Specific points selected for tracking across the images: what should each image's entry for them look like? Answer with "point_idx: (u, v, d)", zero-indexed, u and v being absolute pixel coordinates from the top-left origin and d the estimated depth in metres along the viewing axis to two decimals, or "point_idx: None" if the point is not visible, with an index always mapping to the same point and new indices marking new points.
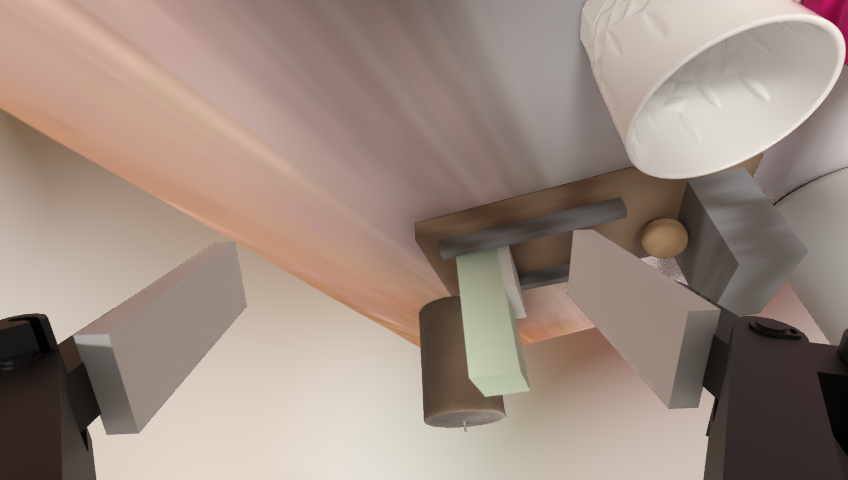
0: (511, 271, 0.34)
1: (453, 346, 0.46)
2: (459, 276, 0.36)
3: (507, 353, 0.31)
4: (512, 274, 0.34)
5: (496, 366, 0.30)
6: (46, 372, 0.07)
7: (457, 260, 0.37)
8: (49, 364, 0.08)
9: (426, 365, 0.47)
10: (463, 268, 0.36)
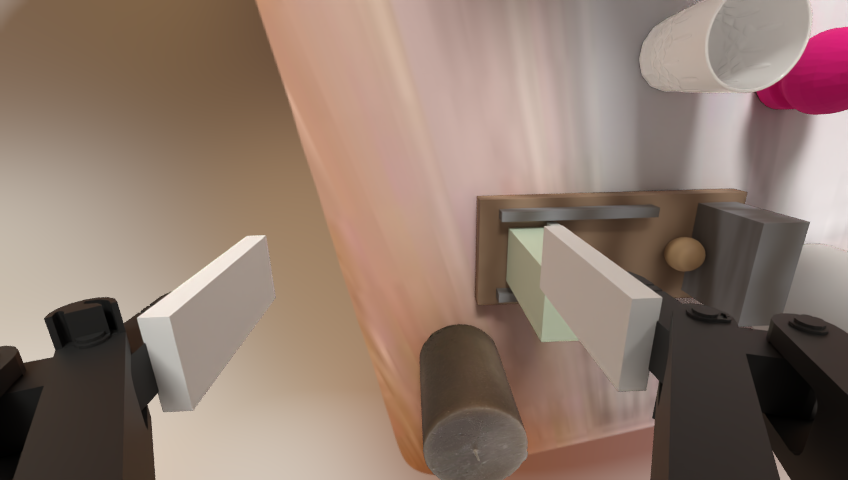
0: None
1: (472, 357, 0.41)
2: (516, 235, 0.38)
3: None
4: None
5: None
6: (114, 352, 0.08)
7: (511, 230, 0.40)
8: (116, 345, 0.08)
9: (436, 376, 0.40)
10: (519, 233, 0.39)
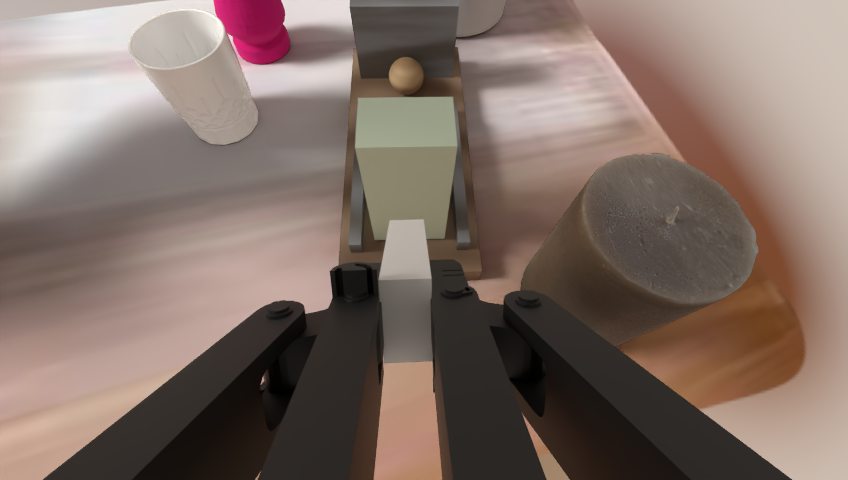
0: None
1: (542, 262, 0.28)
2: (371, 223, 0.31)
3: None
4: None
5: None
6: (367, 312, 0.09)
7: (373, 233, 0.33)
8: (370, 306, 0.10)
9: (577, 308, 0.25)
10: None
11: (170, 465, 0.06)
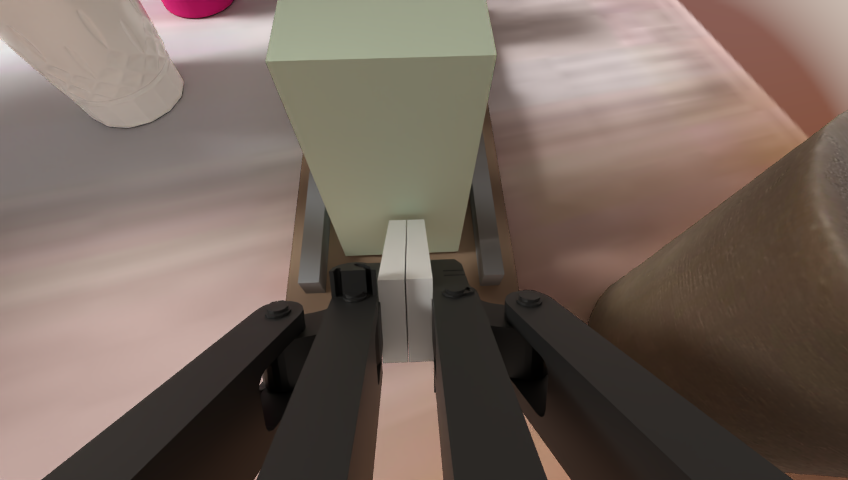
0: None
1: (651, 317, 0.15)
2: None
3: None
4: None
5: None
6: (366, 312, 0.09)
7: (342, 246, 0.20)
8: (369, 306, 0.10)
9: (750, 426, 0.12)
10: None
11: (169, 465, 0.06)
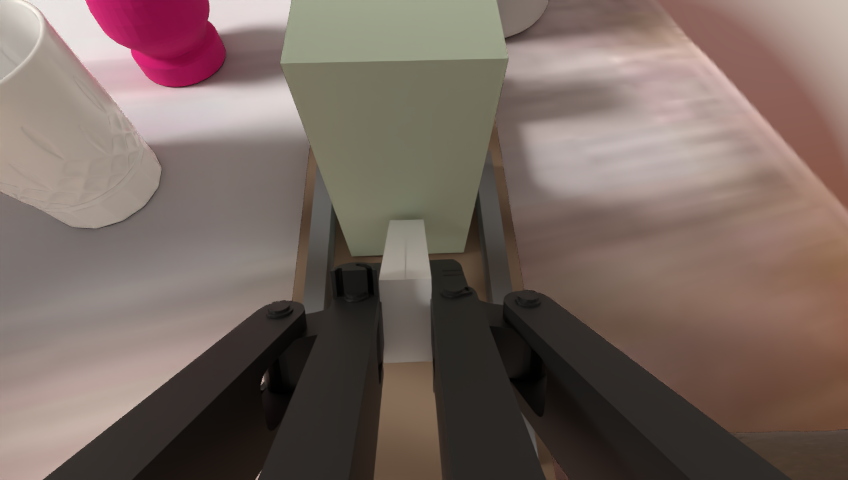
0: None
1: None
2: None
3: None
4: None
5: None
6: (368, 312, 0.09)
7: None
8: (371, 306, 0.10)
9: None
10: None
11: (170, 465, 0.06)
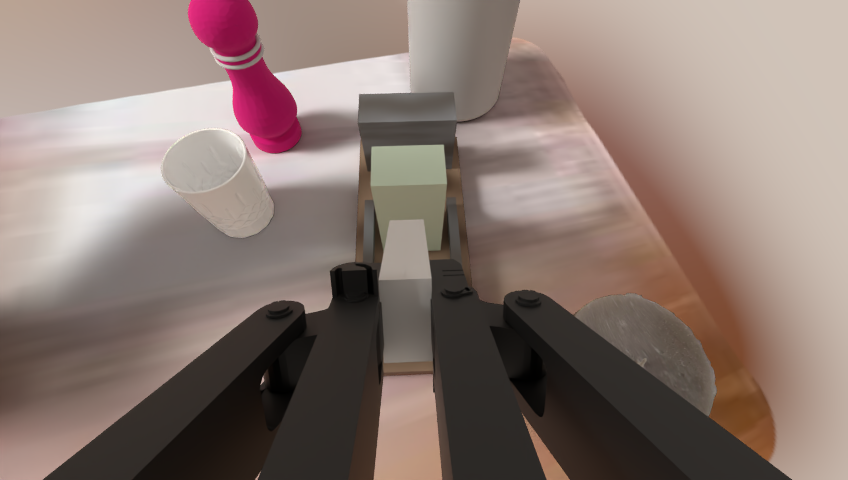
0: None
1: None
2: (381, 239, 0.39)
3: None
4: None
5: None
6: (367, 312, 0.09)
7: None
8: (370, 306, 0.10)
9: None
10: None
11: (170, 465, 0.06)
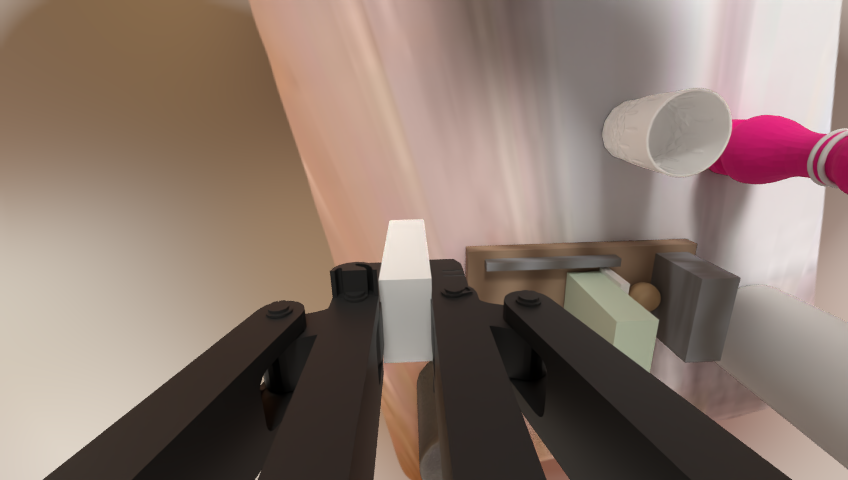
0: (622, 279, 0.44)
1: None
2: (577, 281, 0.45)
3: (642, 312, 0.38)
4: (624, 280, 0.44)
5: (637, 317, 0.37)
6: (367, 312, 0.09)
7: (571, 275, 0.47)
8: (370, 306, 0.10)
9: (431, 403, 0.46)
10: (578, 278, 0.46)
11: (170, 465, 0.06)
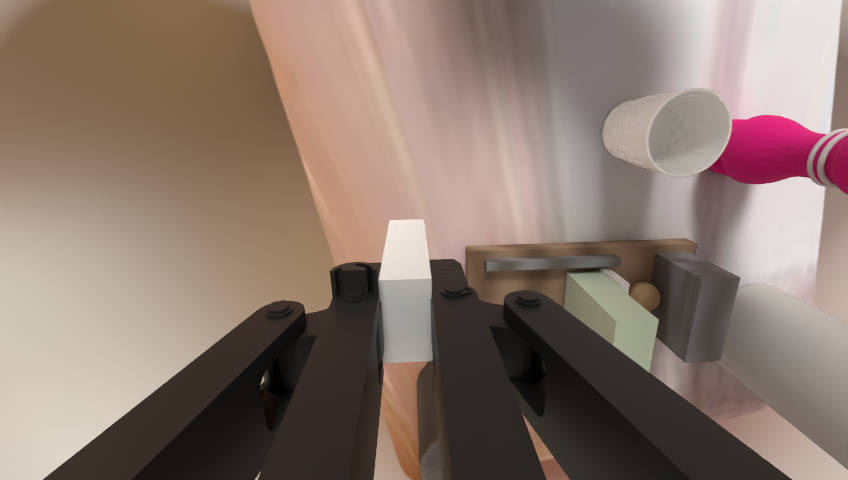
0: (622, 278, 0.44)
1: None
2: (577, 281, 0.45)
3: (641, 312, 0.38)
4: (624, 280, 0.44)
5: (637, 317, 0.37)
6: (367, 312, 0.09)
7: (571, 275, 0.47)
8: (370, 306, 0.10)
9: (430, 403, 0.46)
10: (578, 278, 0.46)
11: (170, 465, 0.06)
